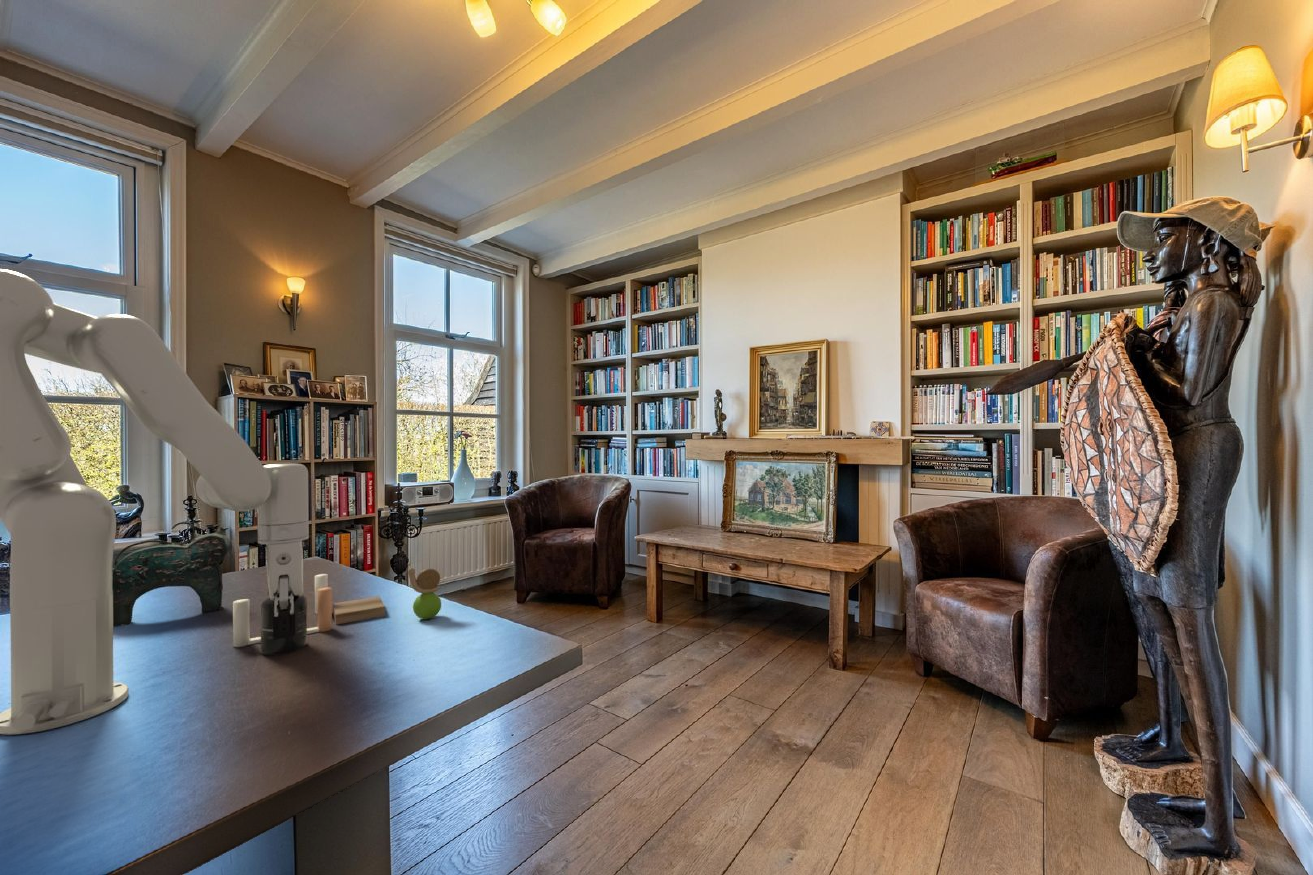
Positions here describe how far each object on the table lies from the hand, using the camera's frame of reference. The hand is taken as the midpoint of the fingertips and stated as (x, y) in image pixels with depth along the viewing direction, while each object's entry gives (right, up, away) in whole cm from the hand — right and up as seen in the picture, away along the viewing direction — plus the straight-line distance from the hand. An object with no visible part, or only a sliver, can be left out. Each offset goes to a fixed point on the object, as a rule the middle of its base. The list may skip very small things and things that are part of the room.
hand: (284, 630), depth 96 cm
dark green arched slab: (-37, -4, +18) cm, 41 cm away
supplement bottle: (0, -3, 0) cm, 3 cm away
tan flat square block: (+3, -3, +19) cm, 19 cm away
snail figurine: (+19, -3, +15) cm, 24 cm away
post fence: (-8, -3, +11) cm, 14 cm away
